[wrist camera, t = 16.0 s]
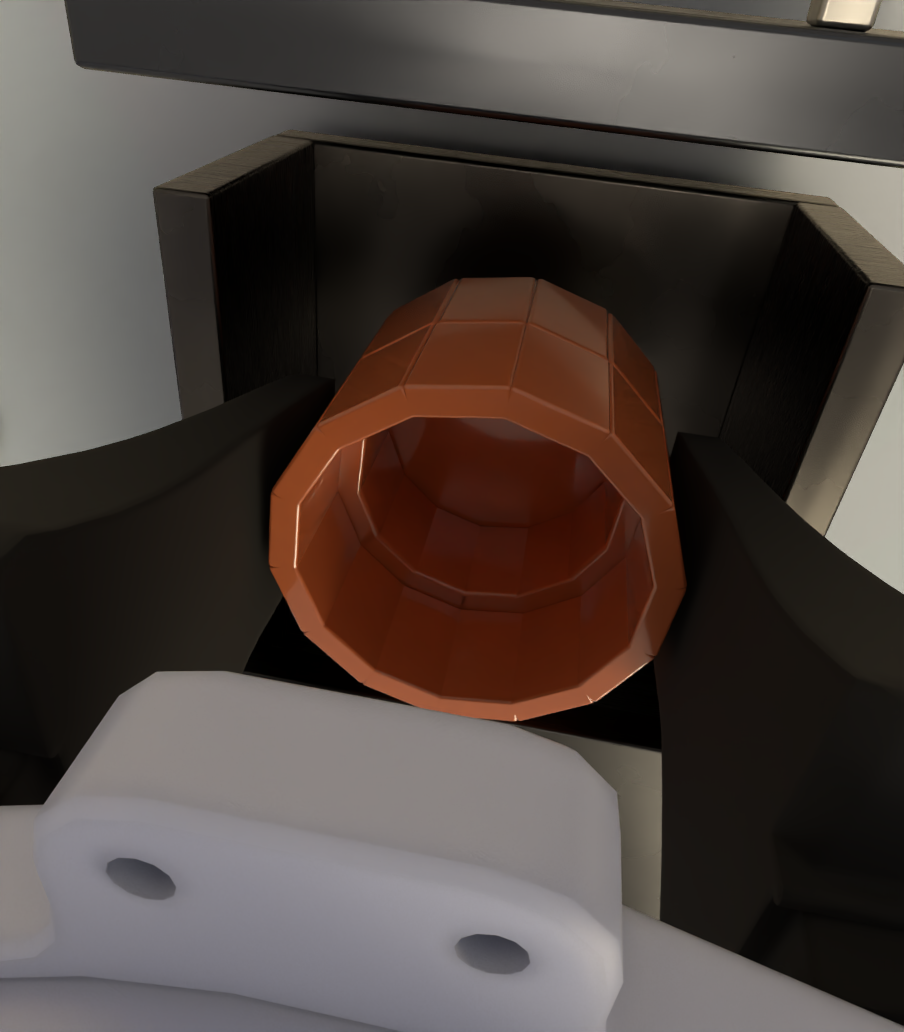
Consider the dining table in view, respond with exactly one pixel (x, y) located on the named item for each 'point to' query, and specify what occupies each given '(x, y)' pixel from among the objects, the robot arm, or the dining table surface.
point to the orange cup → (486, 506)
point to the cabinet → (586, 729)
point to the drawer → (541, 206)
